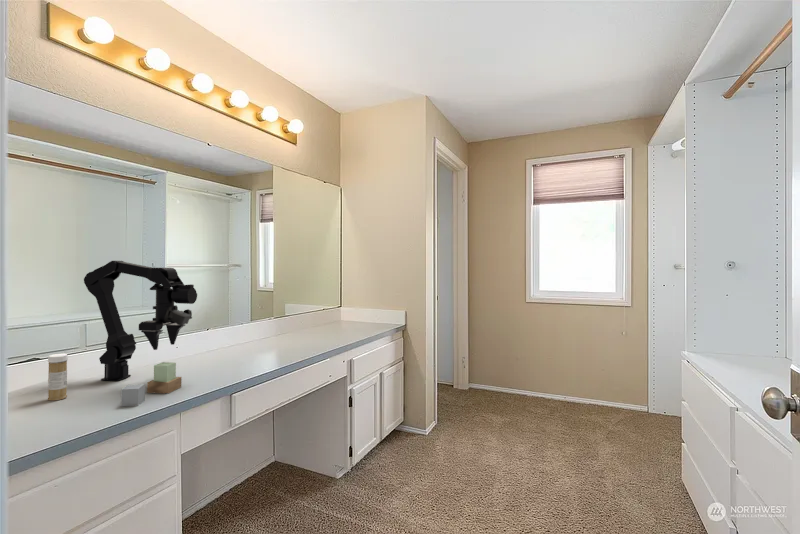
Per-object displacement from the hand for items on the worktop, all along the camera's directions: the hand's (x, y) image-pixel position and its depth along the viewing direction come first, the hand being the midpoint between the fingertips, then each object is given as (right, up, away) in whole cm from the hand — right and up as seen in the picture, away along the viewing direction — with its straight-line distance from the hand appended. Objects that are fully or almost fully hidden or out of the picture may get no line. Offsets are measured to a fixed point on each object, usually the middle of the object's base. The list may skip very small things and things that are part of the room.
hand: (164, 347), depth 144 cm
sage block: (+6, -9, -10) cm, 15 cm away
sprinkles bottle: (-21, -12, -20) cm, 31 cm away
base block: (+6, -12, -10) cm, 17 cm away
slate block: (+4, -12, -23) cm, 26 cm away
